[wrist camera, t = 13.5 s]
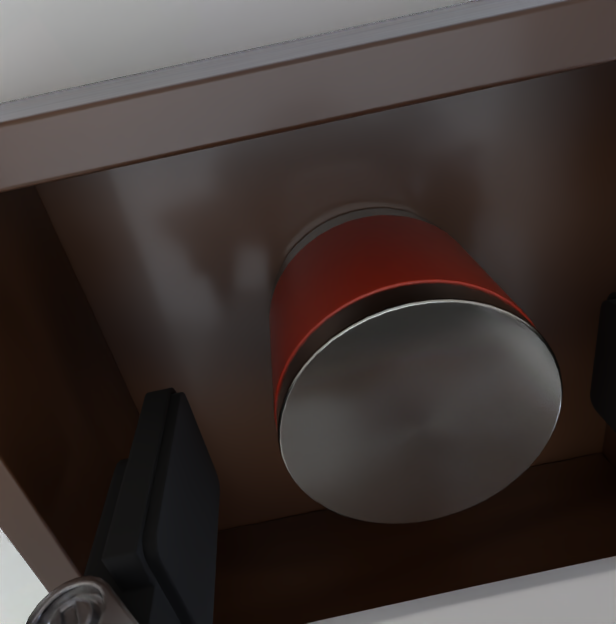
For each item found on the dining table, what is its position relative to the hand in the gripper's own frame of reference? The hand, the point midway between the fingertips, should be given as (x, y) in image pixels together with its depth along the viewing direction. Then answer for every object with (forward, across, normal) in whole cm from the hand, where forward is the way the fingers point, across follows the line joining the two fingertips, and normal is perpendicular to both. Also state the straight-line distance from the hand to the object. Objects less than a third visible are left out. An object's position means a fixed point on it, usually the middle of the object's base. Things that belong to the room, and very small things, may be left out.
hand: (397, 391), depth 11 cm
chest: (+6, 0, +1) cm, 6 cm away
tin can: (+5, 0, 0) cm, 5 cm away
